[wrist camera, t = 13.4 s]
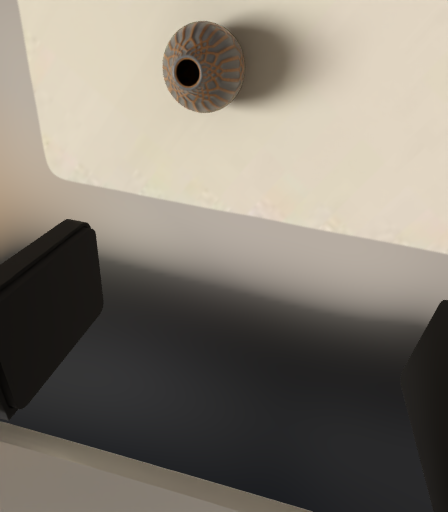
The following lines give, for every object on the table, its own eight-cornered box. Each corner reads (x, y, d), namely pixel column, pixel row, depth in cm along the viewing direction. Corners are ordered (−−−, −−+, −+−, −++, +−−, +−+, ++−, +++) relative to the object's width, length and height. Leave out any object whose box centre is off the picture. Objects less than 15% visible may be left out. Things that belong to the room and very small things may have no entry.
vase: (263, 79, 33) (251, 88, 25) (205, 120, 36) (179, 139, 28) (223, 5, 30) (197, -8, 23) (165, 55, 33) (125, 57, 26)
